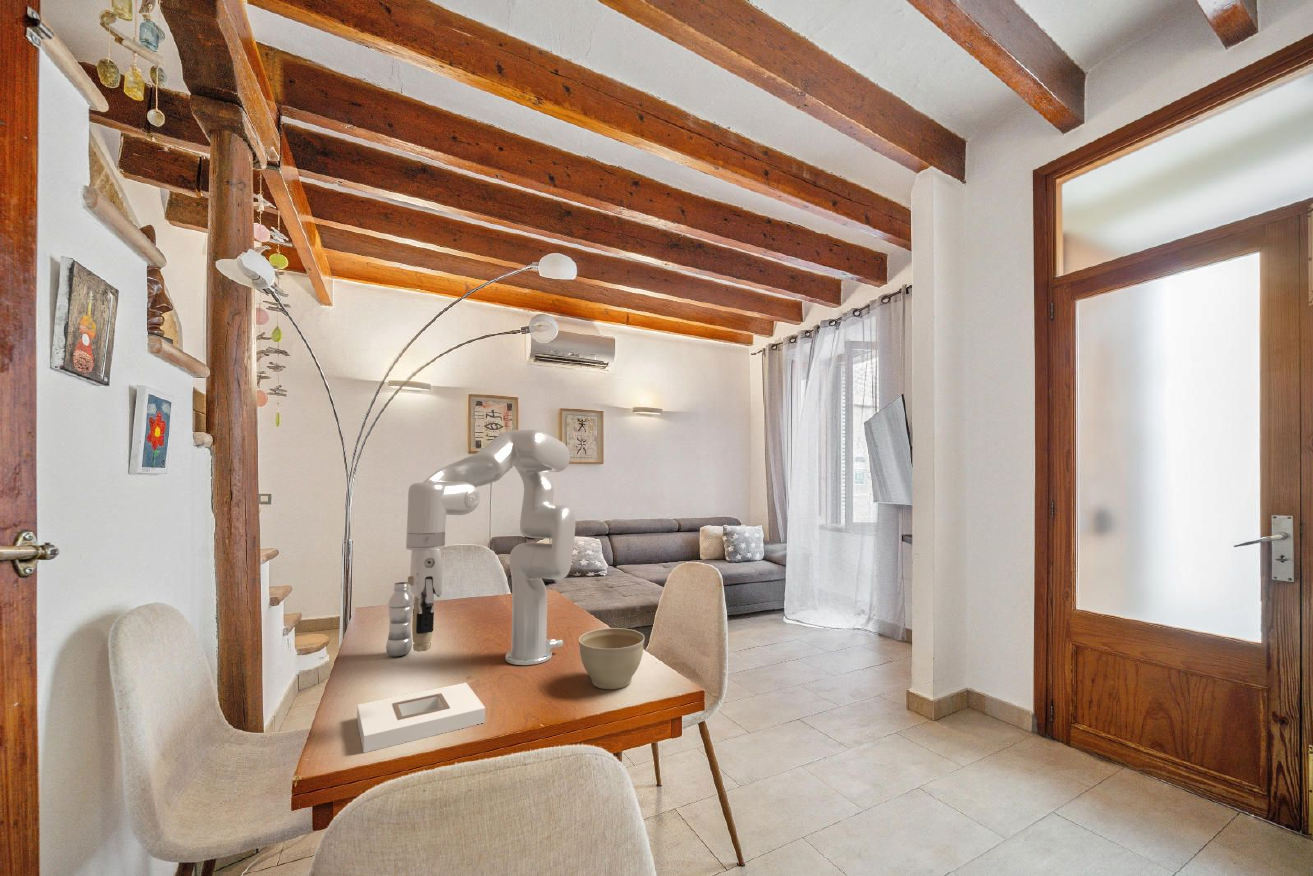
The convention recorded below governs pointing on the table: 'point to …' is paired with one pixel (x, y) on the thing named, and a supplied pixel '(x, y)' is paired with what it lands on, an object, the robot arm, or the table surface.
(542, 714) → the table surface
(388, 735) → the socket board
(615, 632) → the planter bowl
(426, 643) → the handle
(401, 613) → the plastic bottle
